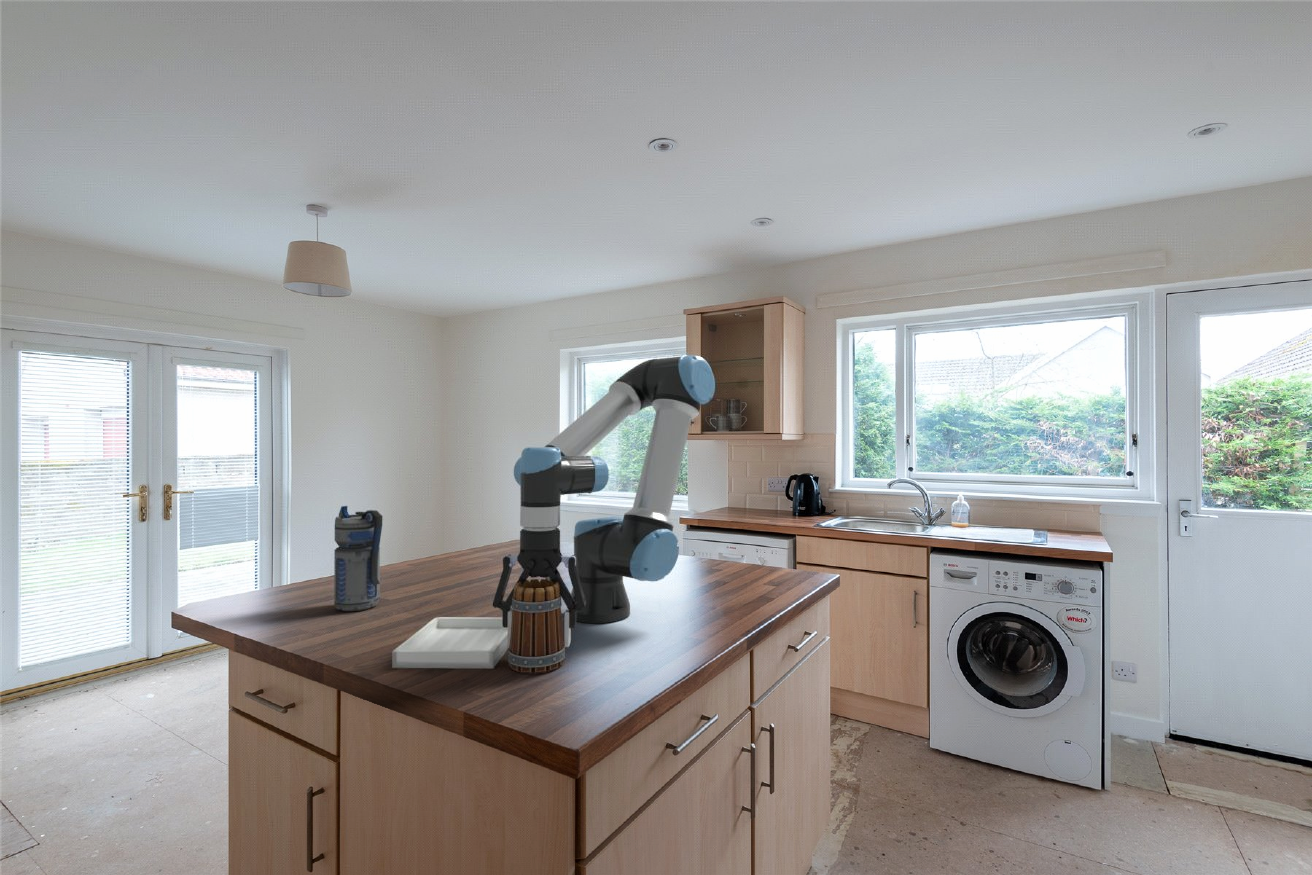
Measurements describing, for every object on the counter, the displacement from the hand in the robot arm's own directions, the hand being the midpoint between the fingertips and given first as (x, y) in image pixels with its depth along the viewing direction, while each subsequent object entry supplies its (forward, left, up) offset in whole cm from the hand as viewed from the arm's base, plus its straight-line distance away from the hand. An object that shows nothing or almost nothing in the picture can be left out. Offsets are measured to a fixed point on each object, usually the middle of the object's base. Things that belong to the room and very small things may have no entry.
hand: (539, 644), depth 117 cm
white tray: (+17, -6, -3) cm, 18 cm away
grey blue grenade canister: (+52, -35, -3) cm, 63 cm away
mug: (-1, 0, -3) cm, 3 cm away
